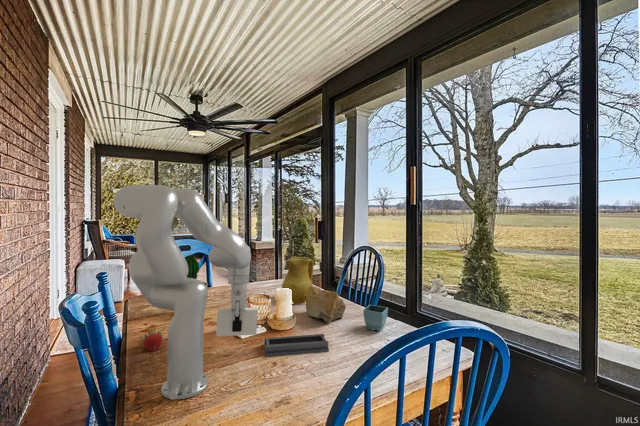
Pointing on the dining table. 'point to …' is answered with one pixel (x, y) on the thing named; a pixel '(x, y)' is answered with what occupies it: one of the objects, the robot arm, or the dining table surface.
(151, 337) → the kendama
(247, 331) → the door panel
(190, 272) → the potted cactus
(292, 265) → the pitcher
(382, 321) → the flower pot
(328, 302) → the rough brown rock
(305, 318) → the dining table surface
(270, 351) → the floor track
